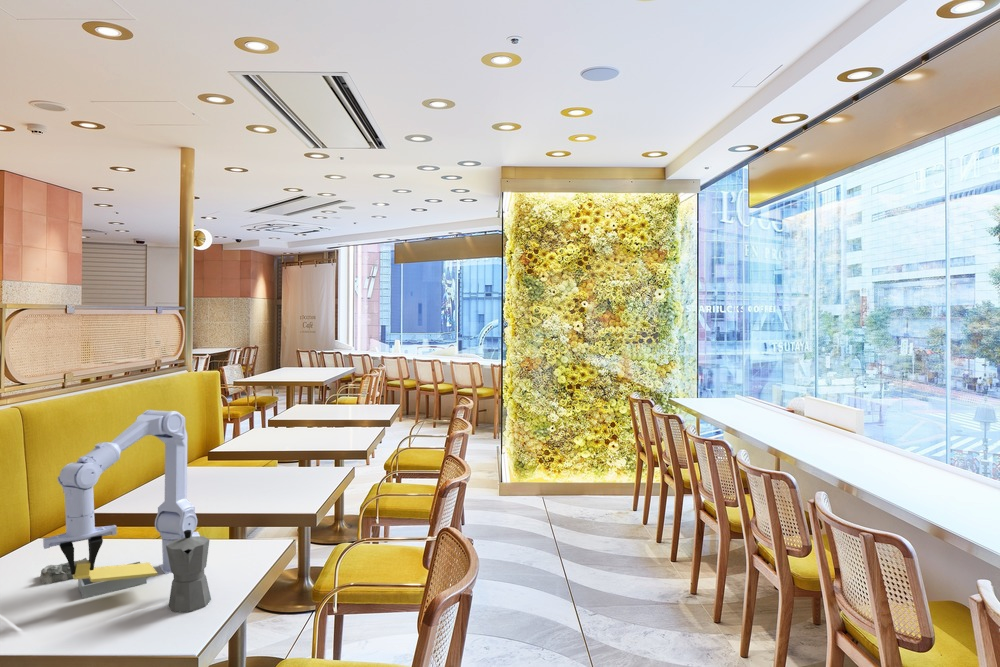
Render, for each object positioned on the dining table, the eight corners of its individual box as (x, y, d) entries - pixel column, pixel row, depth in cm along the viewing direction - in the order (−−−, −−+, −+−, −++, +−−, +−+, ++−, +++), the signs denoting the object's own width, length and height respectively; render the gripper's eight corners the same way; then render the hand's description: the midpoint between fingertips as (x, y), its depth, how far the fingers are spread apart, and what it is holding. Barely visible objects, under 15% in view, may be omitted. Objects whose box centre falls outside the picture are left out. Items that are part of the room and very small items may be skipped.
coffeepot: (212, 611, 155) (209, 535, 154) (167, 620, 151) (164, 541, 150) (210, 587, 169) (208, 517, 168) (169, 594, 165) (166, 522, 164)
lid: (148, 567, 169) (150, 551, 169) (156, 577, 162) (159, 561, 162) (70, 574, 159) (72, 557, 159) (75, 585, 152) (77, 568, 152)
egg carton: (39, 588, 170) (38, 573, 170) (41, 578, 177) (40, 563, 177) (88, 579, 176) (87, 563, 176) (88, 569, 182) (88, 555, 182)
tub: (139, 574, 178) (139, 561, 178) (146, 585, 171) (146, 571, 170) (78, 588, 169) (77, 575, 169) (82, 600, 162) (82, 586, 162)
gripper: (112, 504, 163) (114, 558, 164) (41, 516, 154) (43, 574, 155) (117, 510, 158) (119, 566, 158) (43, 523, 149) (46, 583, 149)
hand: (82, 571), depth 156 cm, fingers closed on lid, 3 cm apart
